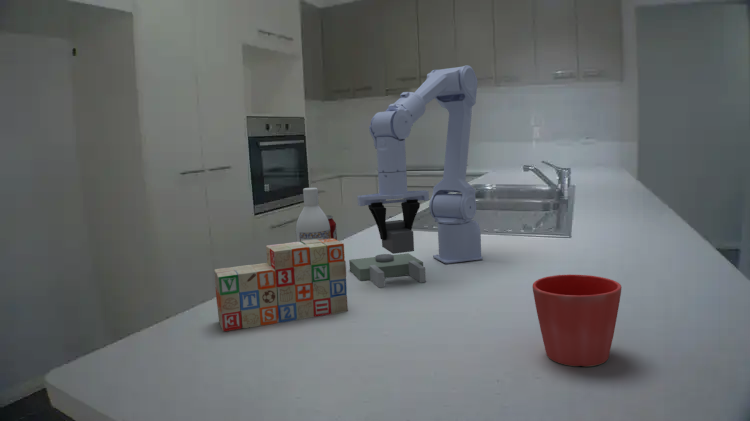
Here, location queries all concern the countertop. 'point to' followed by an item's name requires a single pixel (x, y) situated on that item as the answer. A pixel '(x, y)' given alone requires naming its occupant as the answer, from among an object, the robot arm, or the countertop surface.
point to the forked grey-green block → (387, 268)
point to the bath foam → (312, 219)
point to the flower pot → (577, 317)
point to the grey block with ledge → (398, 237)
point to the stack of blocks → (284, 285)
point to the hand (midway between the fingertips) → (395, 238)
